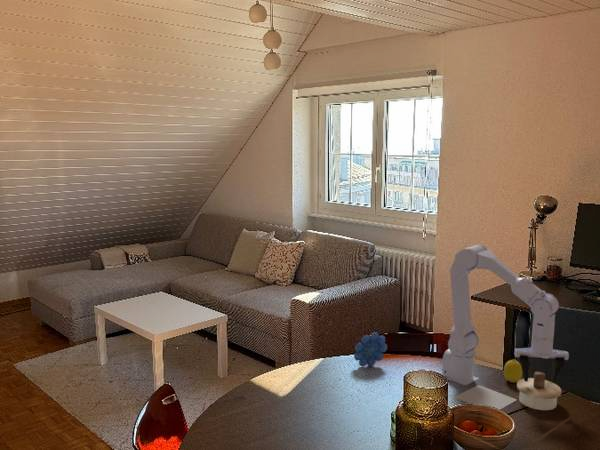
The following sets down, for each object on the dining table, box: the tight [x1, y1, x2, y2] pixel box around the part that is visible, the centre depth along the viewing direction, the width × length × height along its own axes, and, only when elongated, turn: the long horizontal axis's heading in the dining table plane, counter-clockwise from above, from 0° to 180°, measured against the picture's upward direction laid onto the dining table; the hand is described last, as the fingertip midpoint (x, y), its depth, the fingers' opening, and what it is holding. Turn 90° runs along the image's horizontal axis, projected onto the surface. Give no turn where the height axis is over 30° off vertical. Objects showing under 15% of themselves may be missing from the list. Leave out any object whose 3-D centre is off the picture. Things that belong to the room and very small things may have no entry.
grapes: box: [353, 331, 388, 367], centre depth 194 cm, size 12×7×12 cm, turn 101°
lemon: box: [503, 359, 523, 384], centre depth 181 cm, size 6×6×8 cm
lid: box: [516, 371, 562, 399], centre depth 166 cm, size 12×12×5 cm
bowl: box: [518, 391, 558, 411], centre depth 167 cm, size 10×10×4 cm
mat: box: [454, 384, 518, 411], centre depth 170 cm, size 13×13×1 cm
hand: (539, 380), depth 167 cm, fingers open, 7 cm apart
